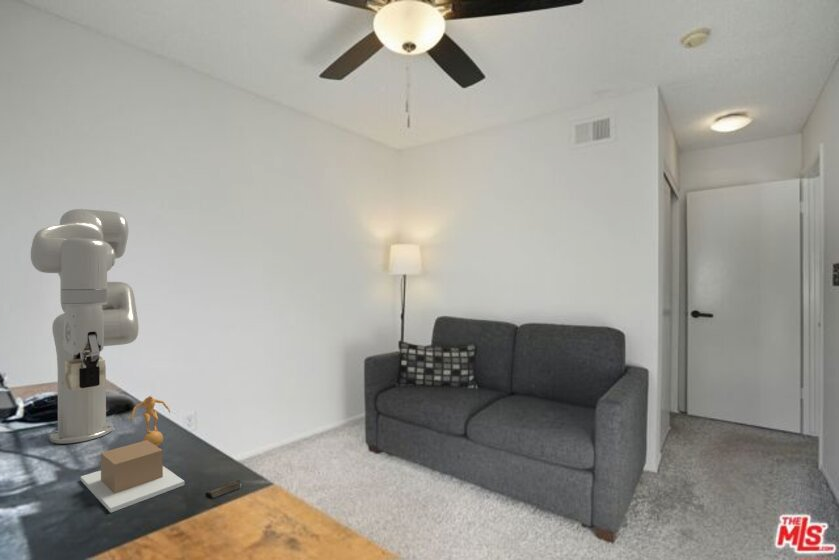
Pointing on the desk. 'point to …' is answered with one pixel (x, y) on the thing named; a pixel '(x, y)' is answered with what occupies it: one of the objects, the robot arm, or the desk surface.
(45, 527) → the desk surface
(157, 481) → the build board
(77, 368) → the maple block
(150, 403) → the figurine
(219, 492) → the block
